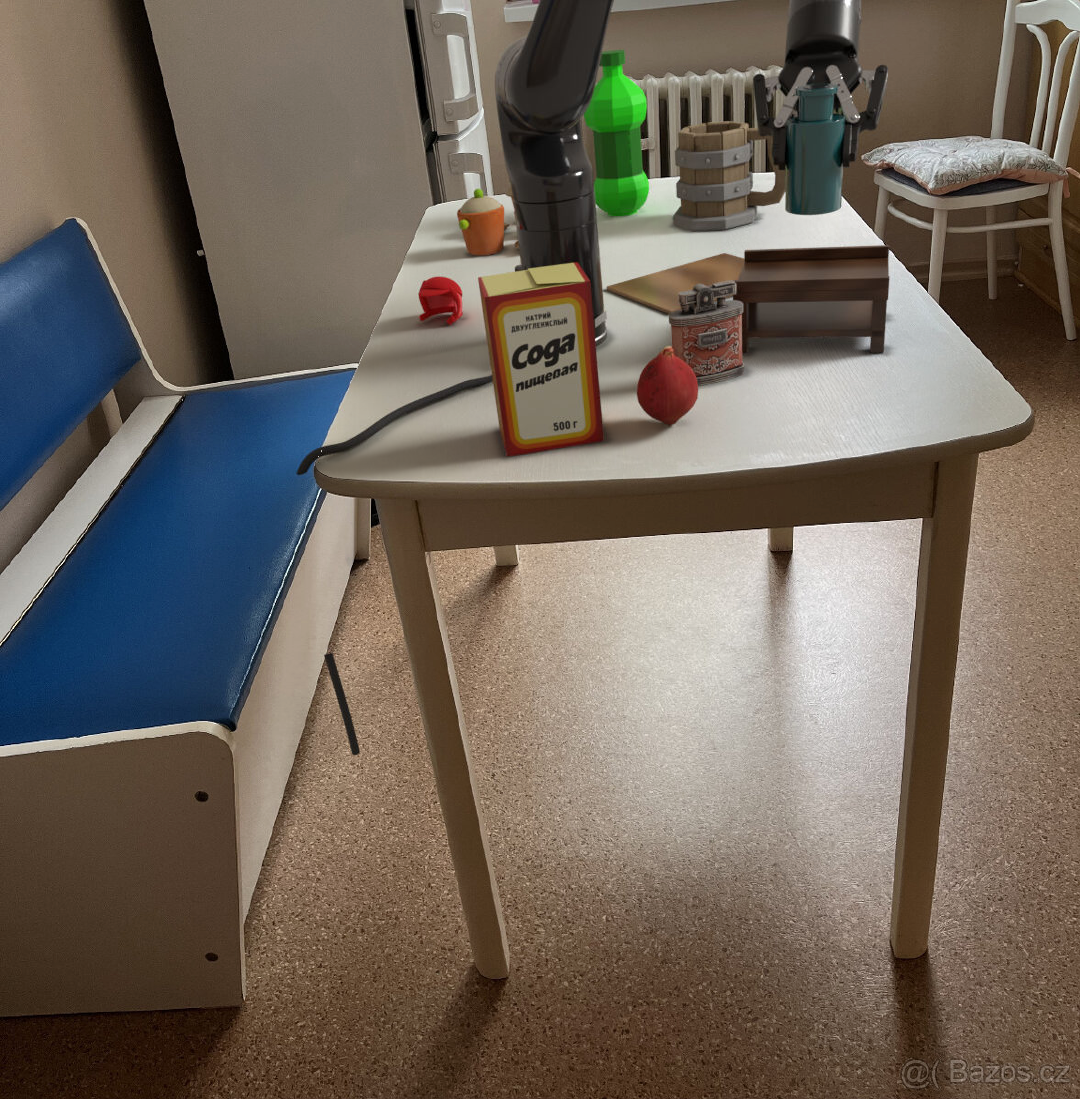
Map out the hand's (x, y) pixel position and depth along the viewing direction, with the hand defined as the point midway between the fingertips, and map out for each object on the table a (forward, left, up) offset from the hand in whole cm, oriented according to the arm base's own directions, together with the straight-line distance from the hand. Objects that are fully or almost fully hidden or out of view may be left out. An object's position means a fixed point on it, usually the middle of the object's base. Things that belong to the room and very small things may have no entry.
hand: (813, 164), depth 106 cm
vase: (+1, +1, -5) cm, 5 cm away
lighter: (-15, -1, -19) cm, 24 cm away
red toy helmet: (-28, +39, -19) cm, 52 cm away
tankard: (+28, +48, -19) cm, 59 cm away
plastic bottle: (+19, +68, -19) cm, 73 cm away
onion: (-25, -8, -19) cm, 32 cm away
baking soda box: (-35, -2, -19) cm, 40 cm away
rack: (+1, +1, -19) cm, 19 cm away
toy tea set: (-1, +71, -19) cm, 73 cm away
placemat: (+4, +26, -19) cm, 33 cm away
